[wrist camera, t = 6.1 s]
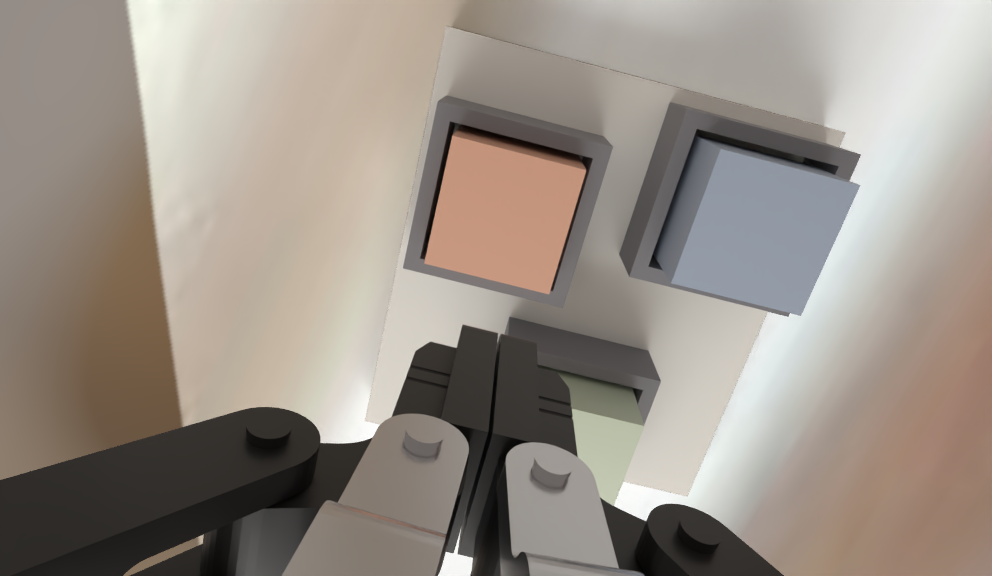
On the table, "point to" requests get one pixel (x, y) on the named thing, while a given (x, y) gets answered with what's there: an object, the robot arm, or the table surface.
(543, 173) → the terracotta button
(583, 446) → the sage green button
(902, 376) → the table surface
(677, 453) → the button panel
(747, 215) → the slate blue button
